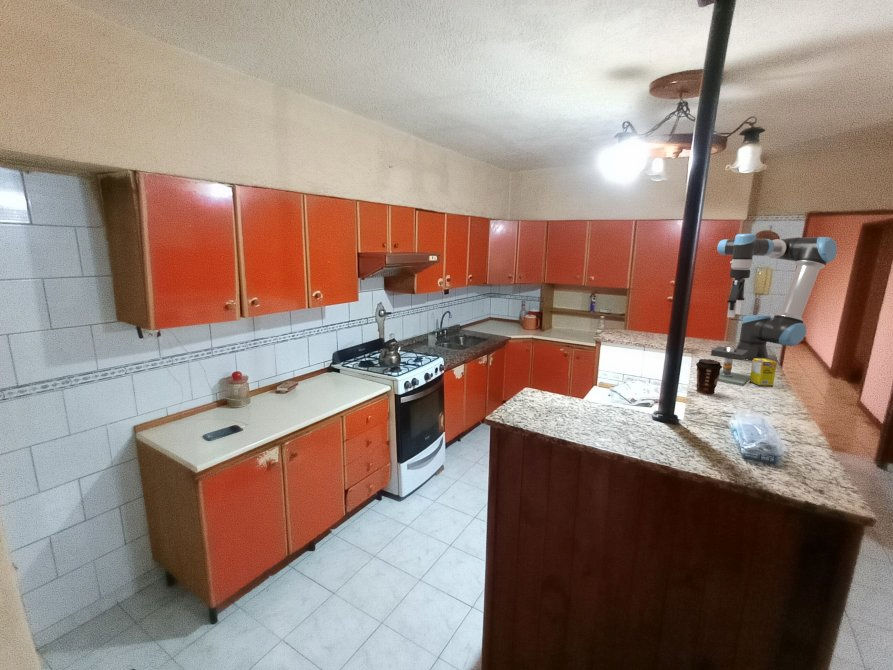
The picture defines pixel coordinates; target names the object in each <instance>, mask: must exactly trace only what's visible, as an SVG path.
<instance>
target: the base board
mask: <svg viewBox="0 0 893 670" xmlns="http://www.w3.org/2000/svg"><path fill="white" fill-rule="evenodd" d="M722 372H723V369H722V370H721V369H720V374H721V373H722ZM731 374H732V377H725V376H721V375H719V379H718V382H720V383H723V384H724V383H726V384H729V385H730V384H731V385H735V386H739V387H744V386H745V385H746V384H748V383H749V382H750V376H751V375H748V374H743V373H738V372H732V371H731Z"/></svg>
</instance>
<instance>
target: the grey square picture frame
mask: <svg viewBox="0 0 893 670" xmlns="http://www.w3.org/2000/svg"><path fill="white" fill-rule="evenodd" d="M726 347H727V346H725V347H724V346H717V347H715V348H713V349H711V352H710V356H712V357H717V358H723V359H725V358H729V359H733V360H735V361H736V360H737V361H743V359H744V358H746V357H747V356H748V351H747V350H740V349H736V348H735V349H734V352H730V351H726Z"/></svg>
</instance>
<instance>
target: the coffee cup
mask: <svg viewBox="0 0 893 670" xmlns="http://www.w3.org/2000/svg"><path fill="white" fill-rule="evenodd" d="M695 365H696V391H695V392H697V393H698V394H701V395H706V396H711V395H713V396H714V395H715V393H716V392H715V391H716V388H717V386H718V382H719V381H718V379H719V375H720V370H721V369H723V365H722V364H721V362H720V361H719V360H714V359H711V358H709V359H708V358H707V359H706V358H701V359H699V360H698V362H696V364H695Z"/></svg>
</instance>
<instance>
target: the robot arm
mask: <svg viewBox="0 0 893 670" xmlns="http://www.w3.org/2000/svg"><path fill="white" fill-rule="evenodd" d="M716 250H717V253H718V254H719V255H720V256H721V255H722V256H732V257H731V259H732V260H731V261H729V264H730V268H731V269H730V271H729V278H732V279H733V280H732V283H731V284H732V285H731V289H730V293H729V296H728V299H727V301H726V302H727V304H728V309H727V314H726V315H727V316H726V318H732V319H733V318H736V315H741V313H742V305H743V304H742V303H743V301H745V300H746V299H745V297H744V292H745V282H746V279H749V278H750V276H751V269H752V266H753V265H752V264H753V257H755V256H756V257H769V259H776V260H777V259H778V260H784V261H791V262H794V264H795V265H796V269H795V272H794V274H793V277H792V279H791V282H790V284H789V287H788V290H787V293H786V295H785V297H784V300H783V304H782V306H781V308H780V311H779V312H778V313H776V314H774V316H773V318H772V316H771V315H769V314H767V315H762V314H761V315H759V314H757V315H745V316H743V318H742V322H741V328H740V335H739V340H738V344H737V346H736V347H735V349H740V350H747V351H748V356H747V357H746V358H744V359H748V360H753V359H754V358H758V359H769V352H768V349H767V343H773V344H777V345H781V346H789V347H794V346H797V345H798V344H800V343H802V341H803V340H804V338H805V336H806V333H807V326H806V325H805V324H804V323H805V321H804V319H803V318H802V317H803V314H804V311H805V308H806V306H807V305H808V304H807V303H808V300H809V298H810V296H811V293H812V291H813V288H814V285H815V283H816V280H817V277H818V275H819V272H820V270H822V269H823V268H826V265H827V263H832V262H833V261H834V260H835V259H836V257H837V255H838V254H837V253H838V246H837V242H836V241H835V240H834V239H833V238H832V237H830V236H814V237H813V236H811V237H810V236H809V237H808V236H807V237H806V236H805V237H790V238H789V237H788V238H779V239H778V238H776V239H772V240H771V239H770V238H757V236H756V234H755V233H738V234H736V235H735V237H734V238H731V239H730V238H727V239H726V238H725V239H721V240H720V241H719V242H718V244H717V249H716ZM748 360H747V361H748Z"/></svg>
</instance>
